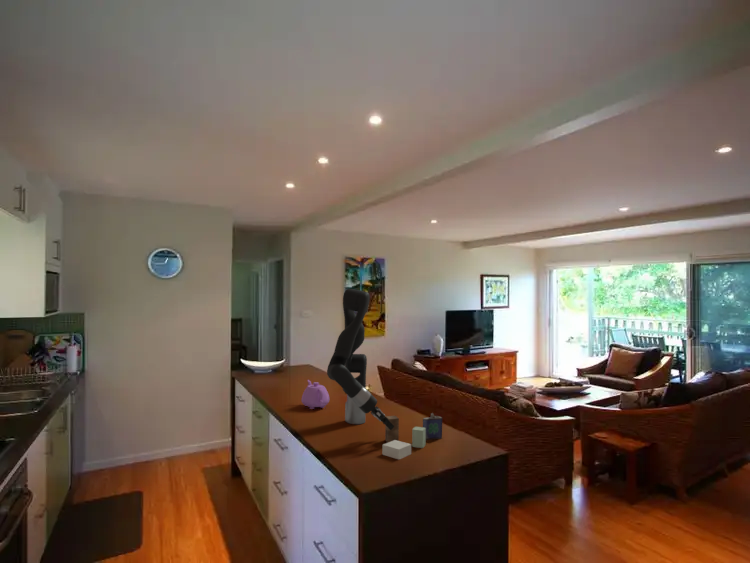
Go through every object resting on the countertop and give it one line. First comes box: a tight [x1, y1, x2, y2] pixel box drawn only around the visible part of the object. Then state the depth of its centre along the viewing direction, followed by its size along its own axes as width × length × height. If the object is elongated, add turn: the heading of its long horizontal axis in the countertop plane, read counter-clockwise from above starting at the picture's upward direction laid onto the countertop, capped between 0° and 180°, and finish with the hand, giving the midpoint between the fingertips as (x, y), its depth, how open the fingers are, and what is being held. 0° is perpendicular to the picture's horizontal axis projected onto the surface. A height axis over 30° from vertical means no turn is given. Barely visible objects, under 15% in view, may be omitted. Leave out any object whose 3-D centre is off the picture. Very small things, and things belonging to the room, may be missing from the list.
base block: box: [381, 440, 412, 460], centre depth 164 cm, size 8×8×4 cm
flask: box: [422, 412, 443, 441], centre depth 184 cm, size 9×3×11 cm, turn 109°
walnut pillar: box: [384, 415, 400, 443], centre depth 179 cm, size 4×4×10 cm
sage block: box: [411, 426, 427, 449], centre depth 174 cm, size 4×4×7 cm
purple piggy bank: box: [301, 379, 330, 410], centre depth 237 cm, size 22×16×14 cm
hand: (389, 425), depth 179 cm, fingers open, 8 cm apart
